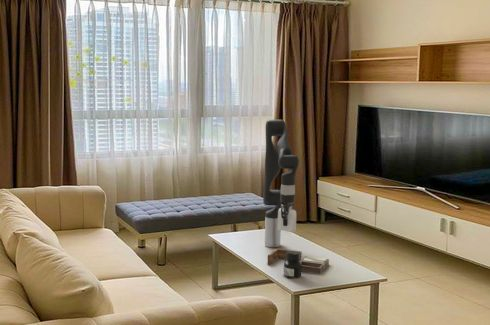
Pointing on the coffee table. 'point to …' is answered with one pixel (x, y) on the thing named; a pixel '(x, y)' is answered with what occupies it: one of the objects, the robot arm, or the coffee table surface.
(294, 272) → the ink bottle
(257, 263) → the coffee table surface
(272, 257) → the wooden cubby shelf
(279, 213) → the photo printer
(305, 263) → the two-compartment wooden organizer
